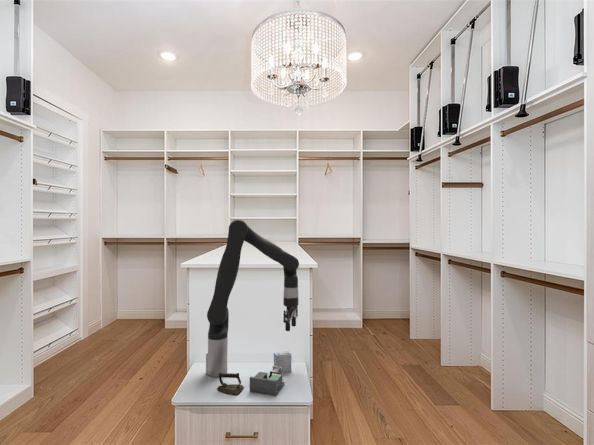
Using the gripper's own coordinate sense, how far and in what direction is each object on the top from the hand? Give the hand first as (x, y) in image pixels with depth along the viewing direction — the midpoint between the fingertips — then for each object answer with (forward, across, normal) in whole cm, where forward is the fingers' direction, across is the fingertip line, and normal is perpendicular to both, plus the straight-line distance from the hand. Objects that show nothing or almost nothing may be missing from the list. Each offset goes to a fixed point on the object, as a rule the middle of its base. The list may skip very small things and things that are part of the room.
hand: (290, 328), depth 167 cm
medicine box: (+20, +4, -3) cm, 21 cm away
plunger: (+19, +15, -1) cm, 24 cm away
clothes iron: (+20, +31, -17) cm, 40 cm away
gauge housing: (+20, +23, -2) cm, 31 cm away
